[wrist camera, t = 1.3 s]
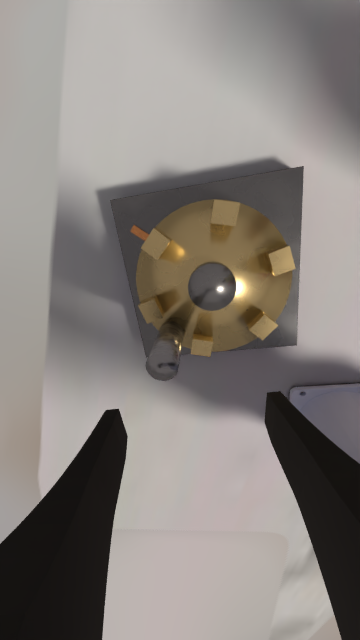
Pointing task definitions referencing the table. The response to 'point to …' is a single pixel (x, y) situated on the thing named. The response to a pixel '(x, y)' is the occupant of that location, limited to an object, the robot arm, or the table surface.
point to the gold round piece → (211, 281)
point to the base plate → (254, 191)
